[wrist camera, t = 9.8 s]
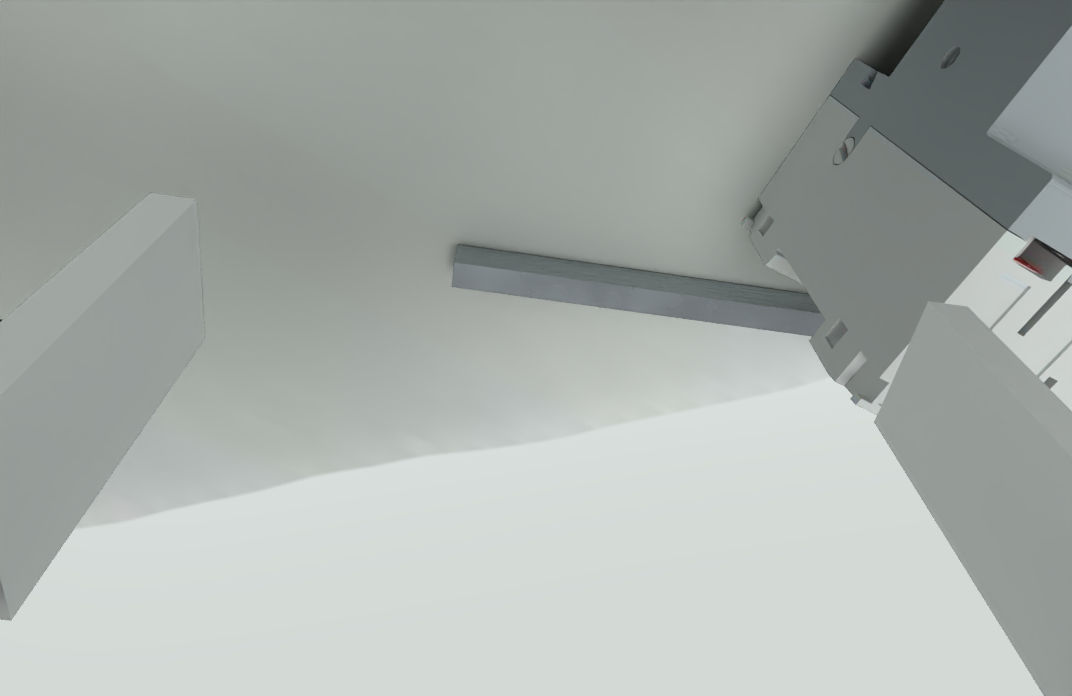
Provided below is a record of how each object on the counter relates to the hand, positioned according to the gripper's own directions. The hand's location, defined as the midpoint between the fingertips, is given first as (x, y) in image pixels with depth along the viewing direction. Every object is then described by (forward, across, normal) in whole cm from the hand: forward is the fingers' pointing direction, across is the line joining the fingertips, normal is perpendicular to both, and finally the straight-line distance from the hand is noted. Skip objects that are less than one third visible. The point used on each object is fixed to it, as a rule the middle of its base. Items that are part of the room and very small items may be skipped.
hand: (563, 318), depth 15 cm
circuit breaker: (+22, +16, 0) cm, 27 cm away
